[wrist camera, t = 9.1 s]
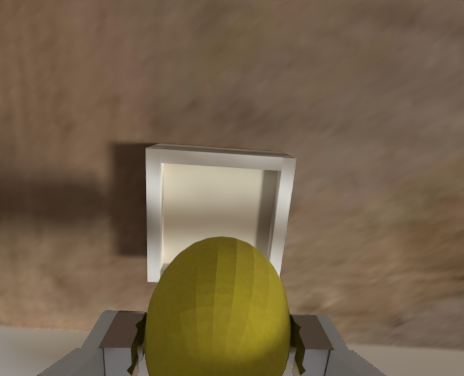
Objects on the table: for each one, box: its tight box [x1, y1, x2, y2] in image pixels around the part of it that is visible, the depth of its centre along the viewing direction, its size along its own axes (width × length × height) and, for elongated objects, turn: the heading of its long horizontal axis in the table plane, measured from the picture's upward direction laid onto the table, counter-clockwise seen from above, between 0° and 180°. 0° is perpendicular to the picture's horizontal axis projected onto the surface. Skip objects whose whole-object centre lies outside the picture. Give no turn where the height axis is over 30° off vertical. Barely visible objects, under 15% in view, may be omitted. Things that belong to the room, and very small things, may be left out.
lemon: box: [144, 236, 291, 376], centre depth 10 cm, size 6×6×8 cm
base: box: [146, 143, 296, 282], centre depth 21 cm, size 11×11×4 cm
